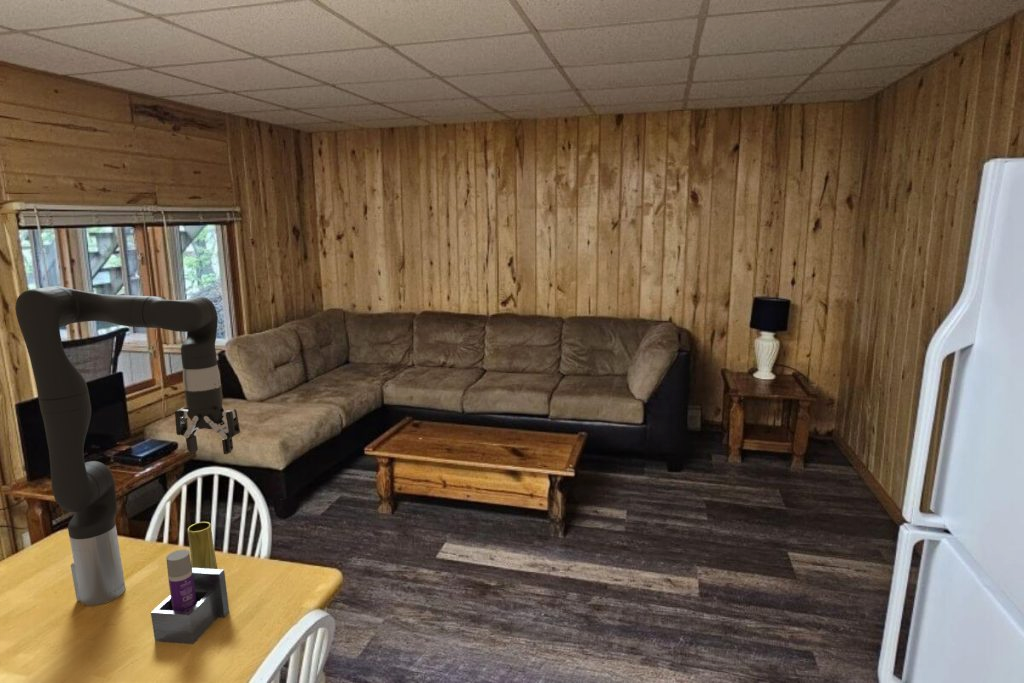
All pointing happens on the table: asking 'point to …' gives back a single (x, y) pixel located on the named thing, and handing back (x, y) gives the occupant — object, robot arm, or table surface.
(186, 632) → the cup bracket
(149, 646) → the table surface
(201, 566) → the vase
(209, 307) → the robot arm
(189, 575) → the container
